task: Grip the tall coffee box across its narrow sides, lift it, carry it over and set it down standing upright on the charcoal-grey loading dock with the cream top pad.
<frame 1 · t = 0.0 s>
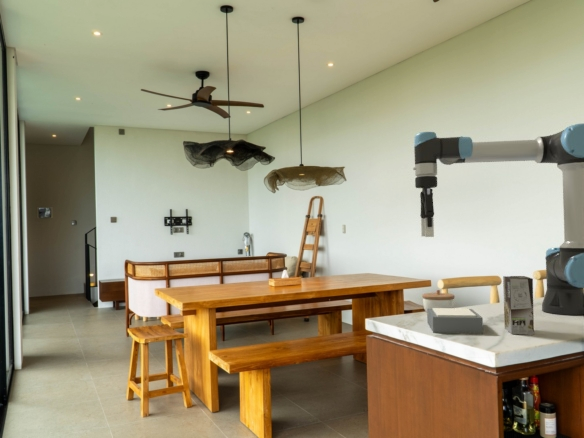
hand: (427, 236, 173), 28 cm above the counter, fingers open, 13 cm apart
lidded jar: (438, 317, 171), on the counter
coffee box: (519, 332, 145), on the counter
dock: (453, 327, 152), on the counter
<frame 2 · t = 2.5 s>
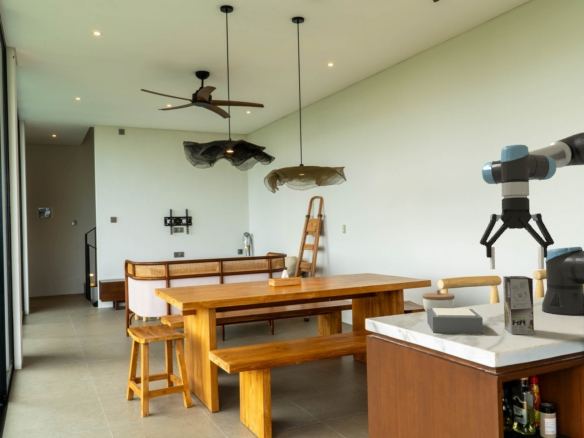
hand: (516, 269, 146), 18 cm above the counter, fingers open, 13 cm apart
nothing on the counter moved.
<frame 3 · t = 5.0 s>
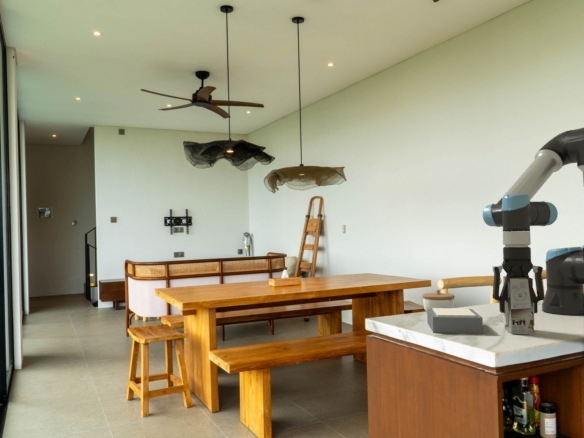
hand: (518, 324, 146), 2 cm above the counter, fingers closed on coffee box, 6 cm apart
coffee box: (518, 332, 145), on the counter, touching gripper
everything else where it was.
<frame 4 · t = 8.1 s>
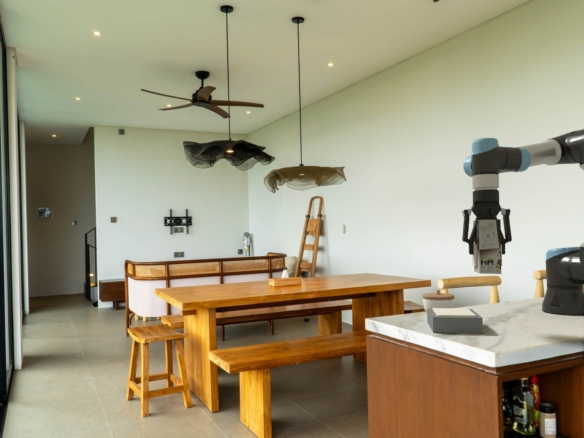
hand: (487, 265, 149), 19 cm above the counter, fingers closed on coffee box, 6 cm apart
coffee box: (487, 273, 149), point 17 cm above the counter, touching gripper
everything else where it was.
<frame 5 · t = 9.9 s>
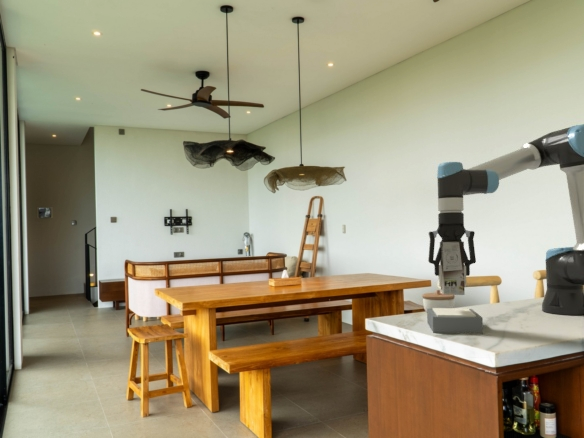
hand: (452, 286, 153), 13 cm above the counter, fingers closed on coffee box, 6 cm apart
coffee box: (452, 293, 153), point 10 cm above the counter, touching gripper
everything else where it was.
when the fingers open (8 cm above the counter, at t = 11.4 s): coffee box drops 1 cm, resting on dock.
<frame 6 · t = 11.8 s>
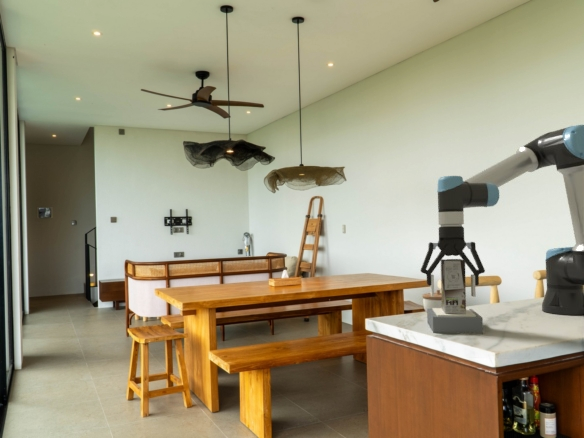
hand: (452, 296, 153), 10 cm above the counter, fingers open, 11 cm apart
coffee box: (453, 312, 152), point 5 cm above the counter, touching dock
everything else where it was.
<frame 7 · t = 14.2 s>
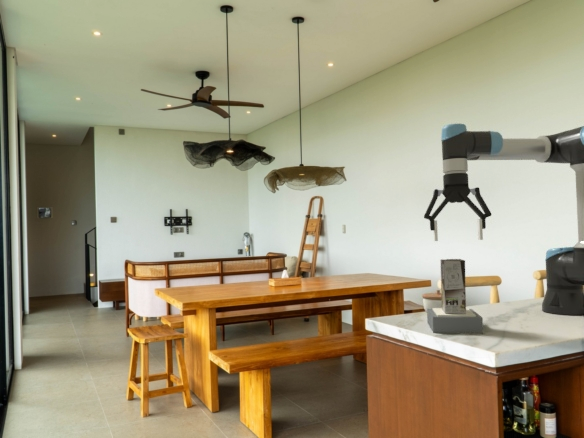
hand: (458, 240, 156), 27 cm above the counter, fingers open, 13 cm apart
nothing on the counter moved.
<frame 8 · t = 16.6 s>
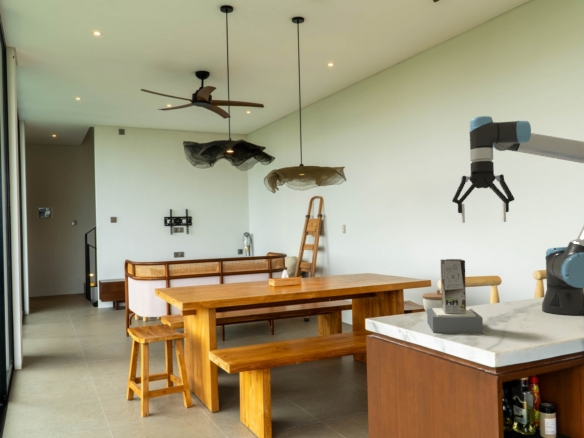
hand: (483, 222, 172), 33 cm above the counter, fingers open, 13 cm apart
nothing on the counter moved.
at the end: coffee box inside the target area on the dock (0.1 cm from its centre), point 4.8 cm above the dock's base; coffee box tilted 0°; the gripper is holding nothing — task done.
